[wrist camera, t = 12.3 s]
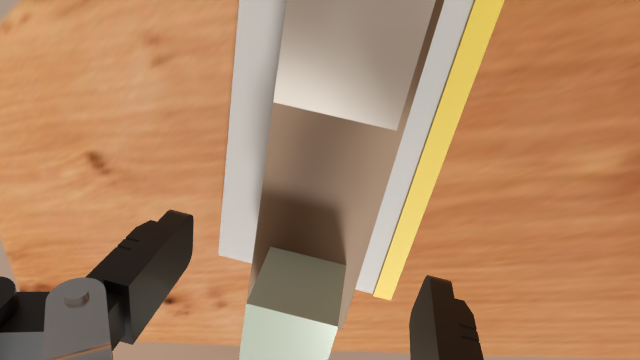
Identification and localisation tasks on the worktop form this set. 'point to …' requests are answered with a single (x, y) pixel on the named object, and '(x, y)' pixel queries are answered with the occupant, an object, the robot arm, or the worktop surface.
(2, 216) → the worktop surface
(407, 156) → the block
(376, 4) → the white crate
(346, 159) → the pallet
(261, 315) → the block
